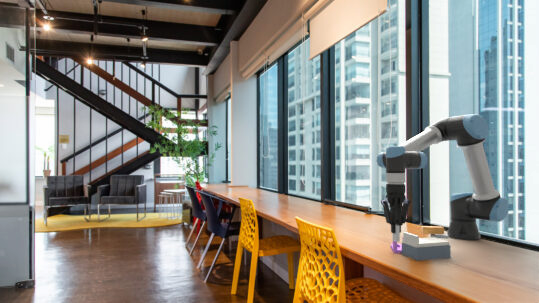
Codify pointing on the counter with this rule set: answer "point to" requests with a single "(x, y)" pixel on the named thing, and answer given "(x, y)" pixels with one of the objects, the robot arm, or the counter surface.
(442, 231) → the key
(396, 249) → the bracket
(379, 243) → the counter surface
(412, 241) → the cover
